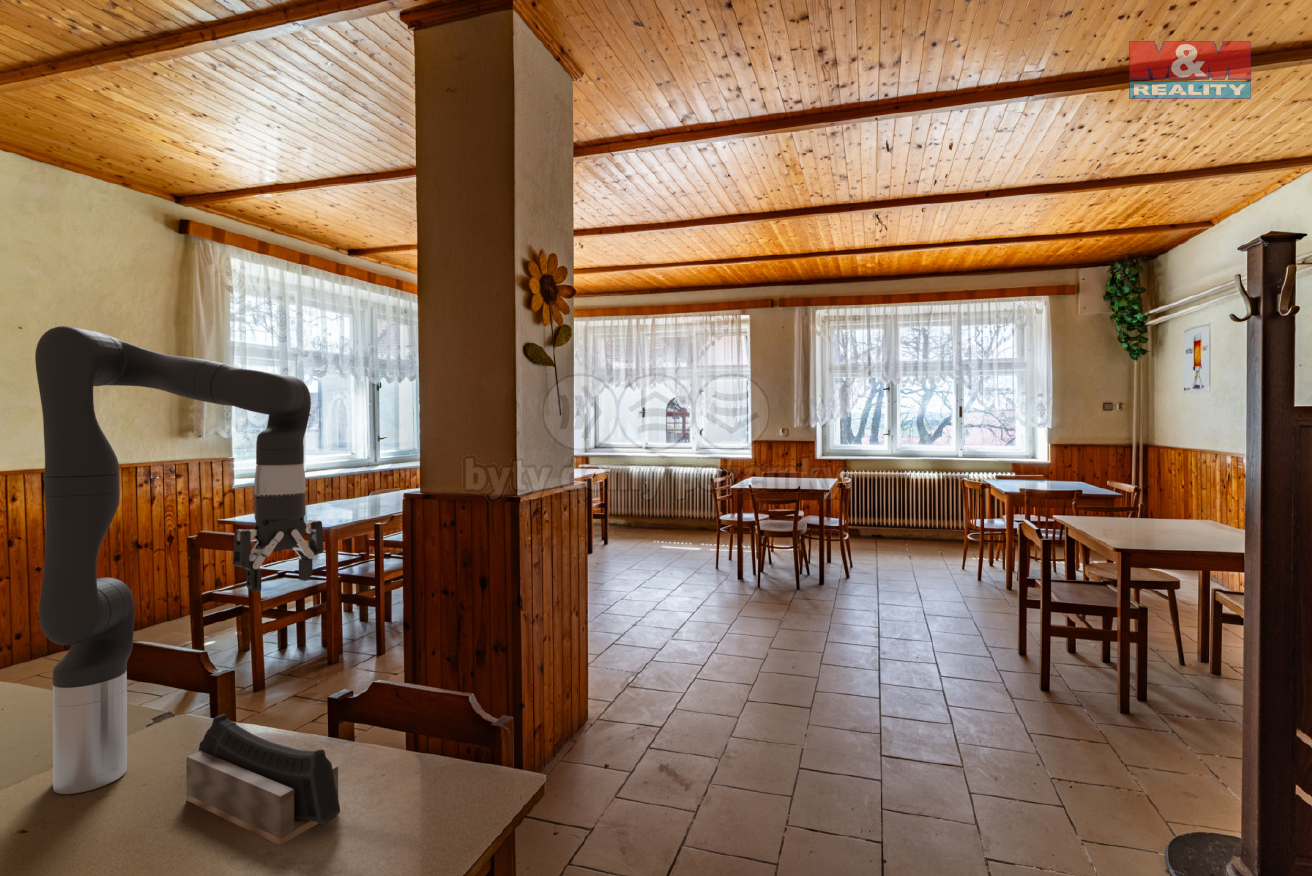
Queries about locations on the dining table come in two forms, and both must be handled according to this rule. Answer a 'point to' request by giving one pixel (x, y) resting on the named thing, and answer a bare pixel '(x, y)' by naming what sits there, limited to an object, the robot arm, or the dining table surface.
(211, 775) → the slot block
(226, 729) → the magazine
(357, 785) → the dining table surface
